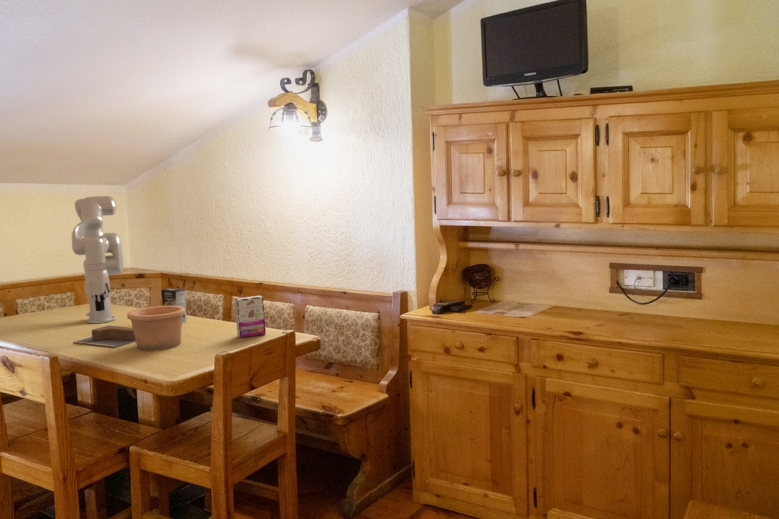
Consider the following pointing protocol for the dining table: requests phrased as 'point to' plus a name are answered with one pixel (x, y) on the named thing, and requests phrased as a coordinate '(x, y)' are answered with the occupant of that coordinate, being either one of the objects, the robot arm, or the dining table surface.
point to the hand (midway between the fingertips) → (100, 310)
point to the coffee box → (174, 299)
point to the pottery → (157, 327)
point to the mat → (105, 342)
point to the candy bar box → (250, 316)
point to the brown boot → (113, 333)
